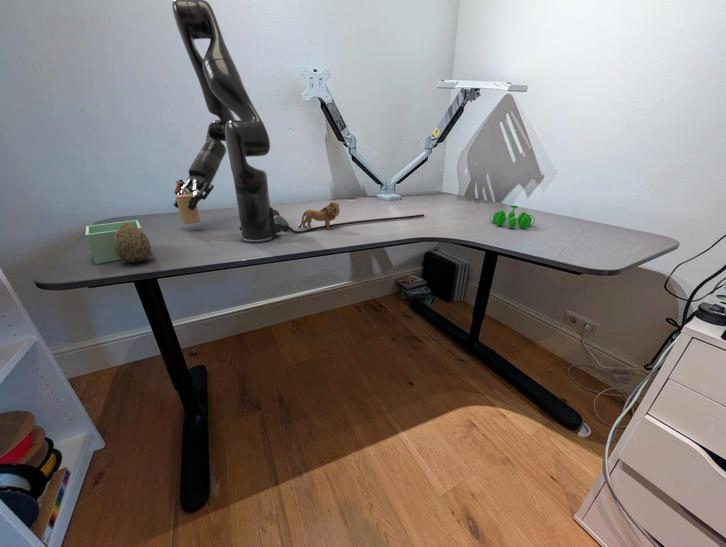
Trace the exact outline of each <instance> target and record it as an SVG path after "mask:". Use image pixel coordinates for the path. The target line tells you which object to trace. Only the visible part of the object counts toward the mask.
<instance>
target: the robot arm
mask: <svg viewBox="0 0 726 547" xmlns="http://www.w3.org/2000/svg"><path fill="white" fill-rule="evenodd" d="M171 7H172V13H173V17H174V21H175V24H176V27H177V29H178V33H179V35H180V37H181V40H182V44H183V45H184V48H185V50H186V53H187V55H188V58H189V60H190V63H191V66H192V67H193V70H194V72H195V74H196V75H195V76H196V77H197V80H198V82H199V86H200V88H201V91H202V95H203V99H204V101H205V105H206V108H207V110H208V112H209V113H210V114H212V115H214V116H215V117H218V119H214V120H212V121H210V123H209V124H208V127H207V131H206V137H205V142H204V144H203V145H202V148H201V150H200V151H199V152H198V153H197V155H196V157H195V158H194V160H193V162H192V164H191V165H190V167H189V169H188V174H189V175H188V178H186V180H184V179H182V178H181V179H179V180H178V182H179V187H180V191H181V194H193V197H192V198H191V199H190V201H189V203H188V205H187V207H188V208H189V209H191V210H194V208H195V207H196V205H197V206H198V203H199V202H201V201H202V200H203V201H205V200H206V199H207V198H208V196H209V195H210V193H212V190H213V189H214V188H215V185H214V184H213V183H212V182H213V180H214V178H215V176H216V174H217V172H218V170H219V169H220V166H221V163H222V161H223V160H224V157H225V155H226V153H228V158H229V162H230V163H229V164H230V169H231V173H232V179H233V184H234V190H235V197H236V203H237V204H236V205H237V210H238V218H239V223H240V226H238V228H239V231H241V236H242V237H241V239H242V241H243V242H247V243H265V242H269V241H271V240H273V239H277V234H279V233H282V229H281V228H286V229H288V230H289V231H290V232H291V233H293V234H305V233H309V232H312V231H316V230H322V229H323V230H324V229H327V225H326V226H325V225H321V226H315V227H311V228H310V229H309V228H307V229H303V230H295V229H293V228H292V227H291V226H290V225H289V226H284V225H280V223H279V222H277V221H276V220H274V214H273V209H274V208H273V207H272V206H271V201H270V193H269V184H268V183H269V182H268V175H267V172H266V171H265V170H263V169H260V168H257V167H254V166H252V165H251V164H249V163H248V161H247V158H252V157H254V158H255V157H256V158H257V157H265V156H266V155H268V153H270V149H271V141H270V137H269V136H270V135H269V133H268V130H267V127H266V126H265V124H264V122H263V120H262V118H261V117H260V115H259V113H258V111H257V110H256V108H255V106H254V104H253V102H252V100H251V99H250V96H249V93H248V92H247V90H246V88H245V85H244V82H243V80H242V78H241V75H240V73H239V70H238V69H237V65H236V64H235V62H234V60H233V58H232V56H231V53H230V51H229V49H228V47H227V44H226V42H225V39H224V37H223V34H222V31H221V28H220V26H219V25H220V24H219V23H218V20H217V17H216V15H215V12H214V10H213V8H212V6H211V4H210V3H209V2H208V1H207V0H173V1H172V4H171ZM196 40H209V44H208V47H207V50H206V52H205V55H204V57H202V55H201V54H200V51H199V50H198V48H197V45H196V43H195V41H196ZM234 114H235V115H236V116H237V117H238V119H239V120H237V119H236V117H235V116H234ZM223 142H225V144H224V143H223ZM173 193H174V194H175V196H176V195H179V192H178V188H177V186H176V187H175V189H174V191H173ZM173 206H174V207H175V208H177V209H179V208H178V204H177V200H176V199H175V201H174V202H173ZM422 217H425V214H424V213H423V214H422V213H421V214H414V215H404V216H394V217H384V218H381V217H380V218H371V219H363V220H362V219H361V220H354V221H353V220H352V221H346V222H339V223H332V224H331V223H330V225H329V227H330V228H333V227H341V226H347V225H355V224H363V223H372V222H373V223H374V222H383V221H394V220H404V219H414V218H415V219H416V218H422Z"/></svg>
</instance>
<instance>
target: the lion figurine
mask: <svg viewBox="0 0 726 547" xmlns="http://www.w3.org/2000/svg"><path fill="white" fill-rule="evenodd" d="M340 210H341V209H340V204H339V203H338V202H335V201H332V202H330V203H329V204H327V205H326V206H324V207H323V208H322V209H320V210H315V209H311V208H310V209H306V210H305V211H303V213H302V217H301V223H300V224H299V225H298V227H297V229H301V228H304V229H306V228H308V229H310V228H312V226H311V223H312V220H314V221H317V222H324V226H326V225H327V228H326V229H327V230H328V231H330V230H332V227H329V225H331V221H335V219H336V218H337V217H338V216H339V214H340ZM306 223H307V225H306Z"/></svg>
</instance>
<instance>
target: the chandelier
mask: <svg viewBox="0 0 726 547" xmlns="http://www.w3.org/2000/svg"><path fill="white" fill-rule="evenodd" d="M510 208H513V210H511V211H510V212H509V213H508V216H507V214H506V212H505V210H498V211H494V212H492V214H491V215H490V216H489V220H490V222H491V223H492V224H495V225H496V226H497V227H502V226H504V225H505V223H506V221H508V224H507V226H508V227H509V228H510V229H513V228H515V227H516V223H517V222H518V223H517V224H518V227H519V228H520V229H523V230H525V229H527V228H528V227H532V226H533V225H534V224H535V222H536V219H535V217H534V215H532V214H528V213H527V212H526V211H523V212H520V213H519V215H518V217H517V218H516V217H515V216H516V213H515V209H518V208H519V206H518V205H510ZM492 216H493V217H492ZM532 218H533V222H532Z"/></svg>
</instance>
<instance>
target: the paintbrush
mask: <svg viewBox="0 0 726 547" xmlns="http://www.w3.org/2000/svg"><path fill="white" fill-rule="evenodd" d="M273 214H274V220H276V221H277V222H279V223H280V225H284V226H289V227H290V225H289V223H288V221H287V220H286V218H284V216H283V217H282V216H281V214H280V212H279V210H277V209H274V208H273ZM281 230H284V231H288V230H289V229H286V228H281Z"/></svg>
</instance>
